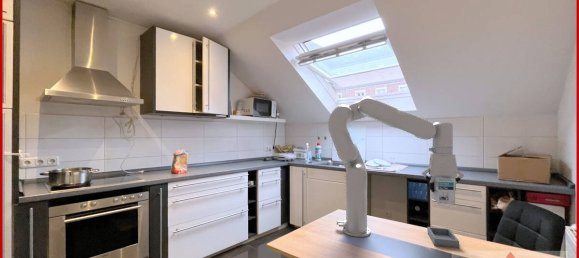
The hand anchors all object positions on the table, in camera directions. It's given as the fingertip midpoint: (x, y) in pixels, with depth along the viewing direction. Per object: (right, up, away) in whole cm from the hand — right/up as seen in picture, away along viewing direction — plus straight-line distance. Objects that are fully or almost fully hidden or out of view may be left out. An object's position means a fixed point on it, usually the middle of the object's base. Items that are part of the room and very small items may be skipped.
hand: (442, 191), depth 114 cm
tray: (0, -21, 0) cm, 21 cm away
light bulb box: (0, -4, 0) cm, 4 cm away
